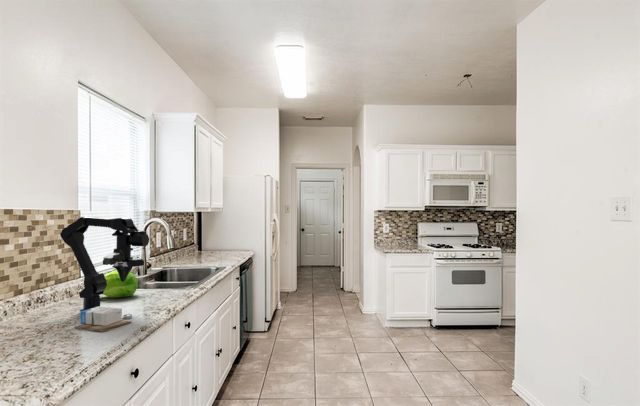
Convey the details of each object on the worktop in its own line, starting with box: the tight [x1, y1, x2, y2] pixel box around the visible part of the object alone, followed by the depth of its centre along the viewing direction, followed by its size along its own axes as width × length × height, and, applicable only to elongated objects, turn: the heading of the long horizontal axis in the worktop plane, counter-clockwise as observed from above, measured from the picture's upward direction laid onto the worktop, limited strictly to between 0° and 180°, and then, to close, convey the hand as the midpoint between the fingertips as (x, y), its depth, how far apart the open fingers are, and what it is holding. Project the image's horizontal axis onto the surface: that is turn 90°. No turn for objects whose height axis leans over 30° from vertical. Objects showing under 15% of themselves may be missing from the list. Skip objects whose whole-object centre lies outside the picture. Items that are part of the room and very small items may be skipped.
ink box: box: [79, 306, 123, 326], centre depth 146 cm, size 9×5×12 cm
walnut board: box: [74, 319, 132, 333], centre depth 144 cm, size 14×13×1 cm
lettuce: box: [102, 269, 139, 298], centre depth 192 cm, size 15×22×15 cm
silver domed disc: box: [122, 313, 133, 320], centre depth 154 cm, size 3×3×1 cm
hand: (123, 281), depth 165 cm, fingers closed
